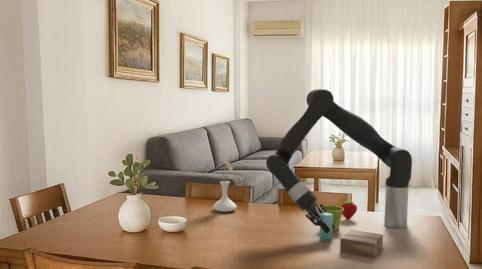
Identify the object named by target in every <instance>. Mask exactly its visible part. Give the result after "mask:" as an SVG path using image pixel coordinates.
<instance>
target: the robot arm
mask: <svg viewBox="0 0 482 269" xmlns="http://www.w3.org/2000/svg"><path fill="white" fill-rule="evenodd" d="M306 95H307V96H306V104H307V106H308V107H307V108H306V110H305V112H304V113H303V114H302V116H301V117H300V118H299V119H298V120H297V121H296V122H295V123H294V124H293V125H292V126H291V127H290V129H289V130H287V132H286V134H285V135H284V137H283V138H282V139H281V141H280V142H279V146H278V149H277V150H276V152H275V153H274V154H271V155H269V156H268V157H267V158H266V162H265V164H266V168H267V170H268V171H269V172H270V173H271V174H272V175H273V176H274V177H275V179H277V180H278V182H280V184H281V185H282V187H283V188H284V189H285V191H286V192H287V193H288V195H289V196H290V197H291V199H292V201H294V203H295V204H296V205H297V207H299V209H300V210H301V211H306V214H304V215H305V218H307V219H308V220H309V221H310V222H311V223H312V224H313V225H314V226H315V227H317V226H318V227H319V228H320V227H321V228H322V229H323V231H324V232H325V233H326V234H327V233H328V232H329V231H330V228H329V227H328V226H327V225H326V224H325V223H324V221H323V220H322V218H321V217H322V216H321V213H328V212H327V210H326V209H325V207H324V206H325V205H323V204H320V205H319V204H318V203H317V202H316V201H317V200H318V198H317V197H316V196H315V194H314V193H313V192H312V191H311V190H310V188H309V187H308V185H306V184H305V183H304V182H303V181H302V179H301V178H299V176H298V175H297V174H296V173H295V171H293V170H292V168H290V166H289V165H288V164H289V162H290V161H291V159H292V157H293V155H294V154H295V152H296V151H297V150H298V148H299V147H300V145H301V144H302V143H303V141H304V140H305V138H306V137H307V135H308V134H309V133H310V131H311V130H312V129H313V127H314V126H315V125H316V124H317V122H318V121H319V120H320V119H321V118H322V117H323V118H325V119H326V120H328V121H330V122H331V123H332V124H333V125H334V126H335V127H336V128H337V129H339V130H340V131H341V132H343V134H345V135H346V136H347V137H349V138H350V139H352V140H353V141H354V142H355V143H357V144H358V145H360V146H362V147H363V148H364V149H366V150H368V151H370V152H371V153H373V154H374V155H375V156H376V157H377V158H378V159H379V160H380V161H381V162H382V163H384V164H385V165H386V166H387V167H388V168H390V169H389V176H388V177H386V178H385V188H384V190H385V193H384V196H385V197H384V216H383V217H384V218H383V220H384V221H383V223H384V224H383V225H384V226H385V227H388V228H391V229H392V228H393V229H406V228H407V227H408V212H409V211H408V209H409V208H408V207H409V183H410V182H411V178H412V168H413V167H412V165H413V159H412V154H411V153H410V152H409V151H408V150H407V149H404V148H401V147H398V146H395V145H393V144H391V143H389V142H388V141H387V140H386V139H384V138H383V137H382V136H381V135H380V134H379V132H378V131H377V130H376V129H375V127H373V125H371V124H370V123H369V122H368V121H366V120H365V119H363V118H362V117H361V116H360V115H358V114H356V113H354V112H352V111H349V110H347V109H346V108H343V107H342V106H340V105H339V104H337V103H336V102H335V100H334V95H333V93H332V91H330V90H328V89H326V88H319V89H318V88H316V89H313V90H310V92H308V94H306ZM333 228H335V225H334V224H333V223H332V229H333Z"/></svg>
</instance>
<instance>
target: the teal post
mask: <svg viewBox="0 0 482 269" xmlns="http://www.w3.org/2000/svg"><path fill="white" fill-rule="evenodd" d="M321 216H322V217H321V218H322V220H323V221H324V223H325V224H326V225H327V226H328V227H329V228H330V231H329V232H328V233H327V234H326V233H325V232H324V231H323V229H322V228H321V227H320V226H319V240H320V241H321V242H325V243H328V242H329V243H330V242H332V241H333V231H332V222H333V214H330V213H321Z"/></svg>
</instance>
